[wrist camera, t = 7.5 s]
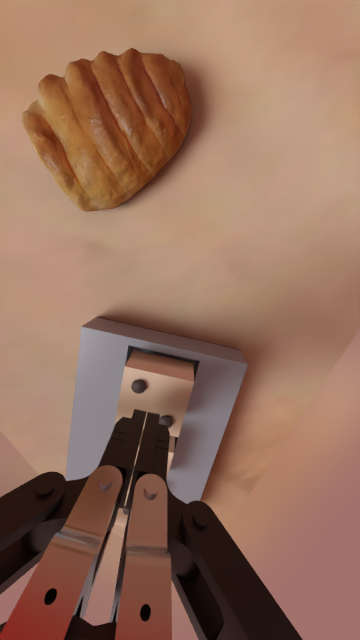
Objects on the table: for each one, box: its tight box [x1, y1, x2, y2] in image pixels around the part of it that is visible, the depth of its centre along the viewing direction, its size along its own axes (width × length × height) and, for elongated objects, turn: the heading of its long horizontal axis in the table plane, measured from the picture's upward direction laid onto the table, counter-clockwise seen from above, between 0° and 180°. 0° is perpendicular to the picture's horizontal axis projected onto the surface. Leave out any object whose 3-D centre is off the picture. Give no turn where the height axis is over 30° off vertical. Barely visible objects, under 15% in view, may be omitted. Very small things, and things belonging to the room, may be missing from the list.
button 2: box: [115, 350, 194, 437], centre depth 15 cm, size 4×4×3 cm
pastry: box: [22, 48, 192, 211], centre depth 12 cm, size 9×7×4 cm
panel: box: [65, 317, 248, 504], centre depth 19 cm, size 18×12×2 cm, turn 167°
